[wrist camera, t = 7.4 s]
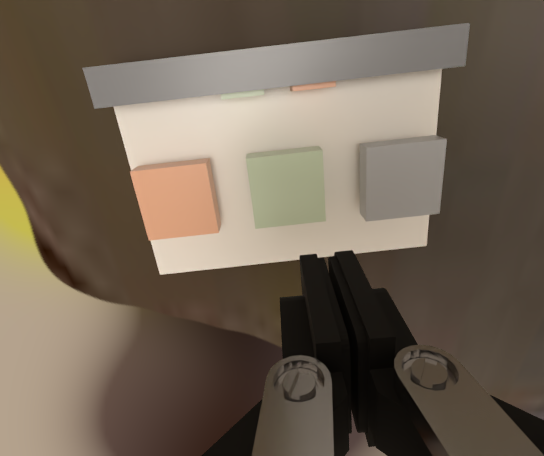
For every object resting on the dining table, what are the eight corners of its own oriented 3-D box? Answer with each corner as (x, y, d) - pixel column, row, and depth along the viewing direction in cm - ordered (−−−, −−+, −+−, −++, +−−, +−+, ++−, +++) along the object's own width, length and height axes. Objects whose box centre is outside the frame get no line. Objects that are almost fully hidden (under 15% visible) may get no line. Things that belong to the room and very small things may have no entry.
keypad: (425, 35, 22) (470, 22, 17) (412, 232, 27) (443, 262, 23) (119, 71, 22) (82, 68, 17) (168, 258, 28) (149, 293, 23)
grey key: (434, 135, 21) (446, 138, 19) (428, 205, 22) (439, 213, 21) (359, 143, 21) (366, 147, 19) (359, 213, 22) (366, 221, 21)
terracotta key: (209, 158, 21) (206, 163, 20) (221, 224, 23) (218, 232, 22) (138, 166, 22) (129, 171, 20) (155, 231, 23) (148, 240, 22)
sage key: (318, 145, 21) (322, 150, 20) (322, 212, 23) (325, 221, 22) (246, 153, 21) (245, 158, 20) (255, 220, 23) (255, 228, 22)
